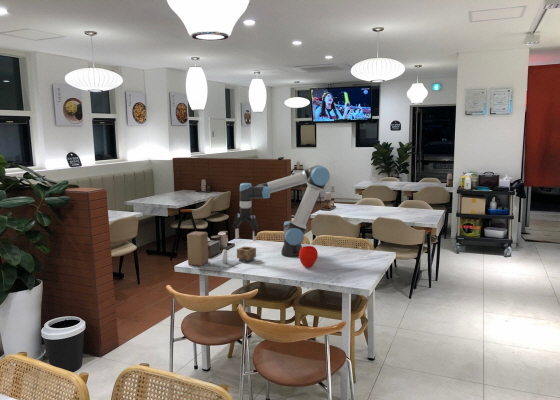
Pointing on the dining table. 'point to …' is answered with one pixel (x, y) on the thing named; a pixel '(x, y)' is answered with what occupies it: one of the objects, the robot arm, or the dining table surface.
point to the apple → (308, 256)
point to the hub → (224, 261)
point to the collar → (246, 253)
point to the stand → (246, 260)
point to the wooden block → (197, 248)
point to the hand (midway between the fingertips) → (245, 239)
